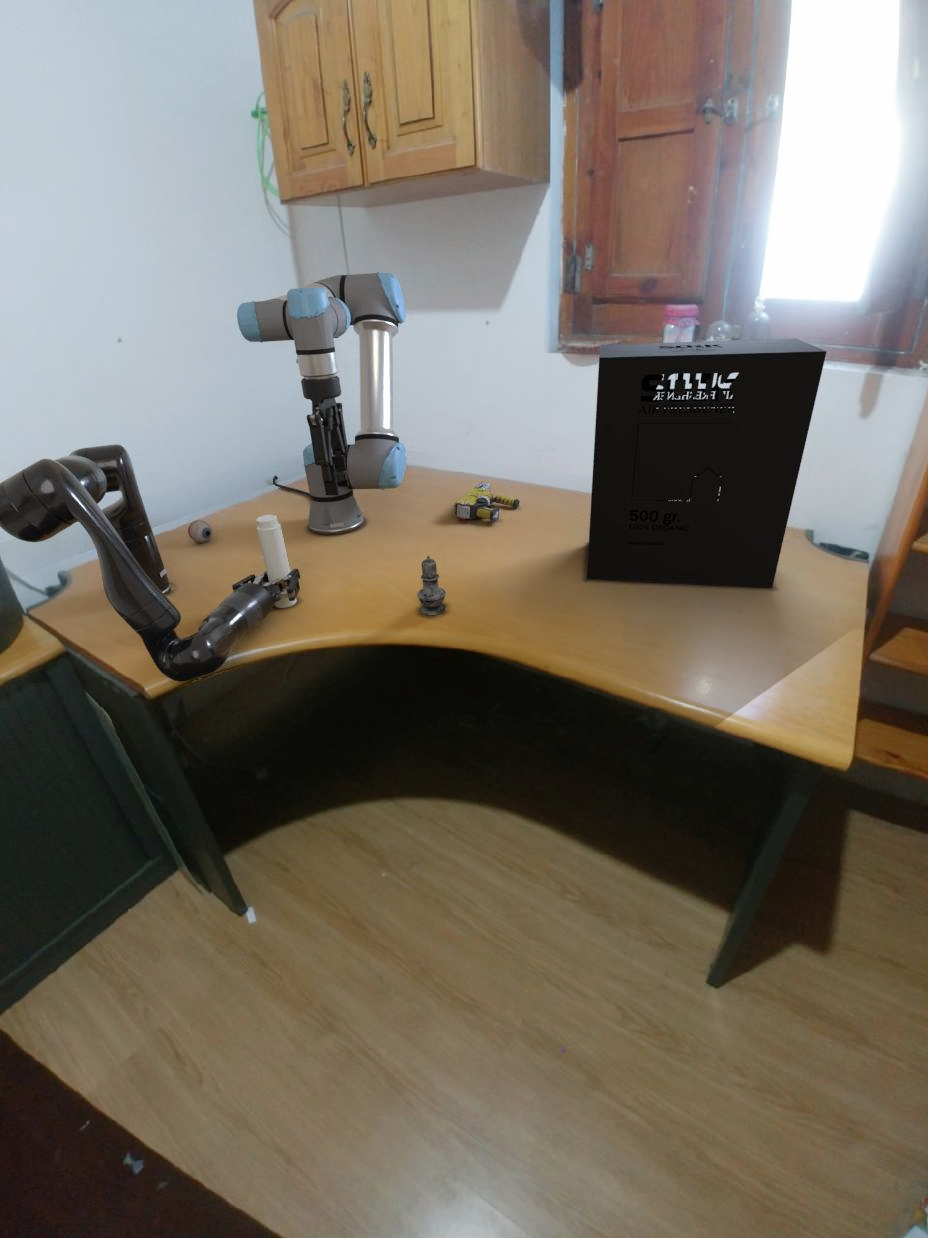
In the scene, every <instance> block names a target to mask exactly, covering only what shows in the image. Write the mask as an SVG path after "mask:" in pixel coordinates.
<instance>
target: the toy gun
mask: <svg viewBox="0 0 928 1238" xmlns="http://www.w3.org/2000/svg"><path fill="white" fill-rule="evenodd" d="M490 489H491V483H490V482H486V483H485V481H481V482H480V483H479V484H478V485H476V486H475V487H473V488H472V489H471V490H469V491H468V492H467V493H465V494H464V496H463V497H461V498H460V499H459V500H457V502H455V503H454V507H453V508H454V509H453V515H454V517H456V518H458V519H459V520H463V521H465V520H474V519H478V518H483V519H487V520H489V521H490V522H489V523H491V524H492V523H494V522H496V521H497V520H499V517H500V507H498V506H497V507H496V506H495V507H494V508H493V506H492V504H494V503H495V504H500V505H504V506H507V507H512V508H515V509H517V508H518V507H520V500H519V499H518V498H512V497H508V496H503V495H502V496H501V495H500V494H497V495H496V496H495V497H494V495H493V494H492V492H491V491H489V490H490Z"/></svg>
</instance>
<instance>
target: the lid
mask: <svg viewBox="0 0 928 1238" xmlns="http://www.w3.org/2000/svg"><path fill="white" fill-rule="evenodd" d="M335 471H336V477H337V482H341V481H344V480H347V479H348V478H349V473H348V469H347V468H346V467H335ZM322 478H323V475H322Z"/></svg>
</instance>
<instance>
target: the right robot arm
mask: <svg viewBox="0 0 928 1238" xmlns="http://www.w3.org/2000/svg"><path fill="white" fill-rule="evenodd" d="M404 301H405V300H404V295H403V290H402V287H401V284H400V282H399V279H398V277H397V276H396V275H395V274H394V273H392V272H379V271H377V272H371V273H357V274H356V273H355V274H338V275H333V276H332V275H331V276H329V277H327V278H323V279H320V280H317V281H315V282H312V283H308V284H306V285H305V286H303V287H302V288H290V289H289V290H288V291H287V292H286V294H284V295H281V296H277V297H274V298H270V299H267V300H258V301H255V300H252V301H247V302H242V303H240V304H239V306H238V308H237V312H236V319H237V325H238V329H239V331H240V333H241V336H242V337H243V338H244V339H245V340H246V341H248V342H250V343H266V342H267V343H268V342H283V341H293V342H294V348H295V354H296V359H295V363H296V364H297V365H298V370H299V371H298V372H299V375H300V376H301V377H303V378H301V380H300V384H301V389H302V395H303V398H304V399H306V400H310V401H311V412H312V413H311V414H306V421H307V425H308V428H309V433H310V441H311V443H309V444H308V445H307V446H305V447H304V448H303V450H302V457H303V459H302V460H303V467H304V471H305V477H306V481H307V486H308V492H307V491H304V490H301V489H297V488H293V487H289V486H285V485H282V484H279V483H277V482H276V481H277V480H278V479H279V478H278V476H277V475H274V476H273V478H272V484H273V485H274V486H275V487H277V488H281V489H284V490H287V491H292V492H296V493H299V494H302V495H305V496H308V497H309V498H310V507H309V513H308V528H309V529H308V530H310V531H311V532H312V533H314V534H317V535H323V536H324V535H325V536H327V535H329V536H331V535H339V534H340V535H341V534H345V533H350V532H353V531H355V530H357V529H359V528H361V527H362V526H363V525H364V523H365V519H364V514H363V512H362V510H361V508H360V505H359V504H358V501H357V500H356V498H355V495H354V490H382V491H383V490H390V489H396V488H398V487H400V485H401V484H402V482H403V480H404V477H405V473H406V466H407V456H406V455H407V451H406V450H407V449H406V446H405V445H404V444H403V443H402V442H400V437H399V435H398V434H397V433H396V432H395V431H394V352H393V351H394V346H393V345H394V341H393V338H395V337H396V335H397V334H399V324H400V325H401V324H403V323H405V322H406V306H405V302H404ZM350 326H353V328H352V329H353V331H354V332H355V333H356V335H358V339H359V341H358V342H359V343H358V344H359V413H360V414H359V415H360V417H359V418H360V430H359V431H358V432H357V433H356V434H355V435H354V443H353V444H348V439H347V434H346V427H345V426H346V425H345V422H344V421H345V420H344V415H343V414H344V412H343V411H344V410H343V403H342V402H337V401H336V398H339V397H340V396H341V395H342V388H341V381H340V377H339V376H338V375H337V374H338V373H339V365H338V359H337V351H336V346H335V339H338V338H340V337H342V336H343V335H344V334H346V332H347V331H348V330H349V328H350ZM335 467H346V468H347V469H348V473H349V478H348V479H347V480H344V481H341V482H337V477H336V471H335ZM322 475H323V478H322Z"/></svg>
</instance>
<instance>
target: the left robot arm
mask: <svg viewBox="0 0 928 1238" xmlns="http://www.w3.org/2000/svg"><path fill="white" fill-rule="evenodd" d="M113 492H115V493H116V492H120V493H121V497H120V498H118V500H116V501H115V502H113V503H112V504H110V505H107V506H106V507H104V508H100V506H99V503H100V502H101V501H102V500H103V499H104V498H105V496H106V493H113ZM76 523H79V524H80V525H81V526H82V527H83V528H84V530H85V531H86V533H87V534H88V536H89V537H90V539H91V541H92V543H93V545H94V547H95V550H96V555H97V557H98V562H99V567H100V574H101V580H102V584H103V590H104V593H105V595H106V598H107V601H108V602H109V604H110V605H111V607H112V608H113V610H114V611H115V612H116V613H117V614H118V616H119V617H120V618H121V619H122V620H123V621H124V622H125V623H126V624H127V625H128V626H129V627H130V628H131V629H132V630H133V631H134V632H135V633H136V634H137V635H138V636H139V637H140V639H141V640H142V643H143V645H144V647H145V649H146V651H147V652H148V654H149V656H150V658H151V660H152V661H153V663H154V665H155V667H156V668H157V670H159V672H160V673H161V674H162V675H164V677H166V678H167V679H170V680H172V681H174V682H177V683H178V682H179V683H183V682H187V681H191V680H194V679H197V678H200V677H203V676H207V675H209V674H211V673H213V672H215V671H217V670H218V669H220V668H221V667H222V666H223V665H224V663H226V661H227V660H228V658H229V656H230V654H231V652H232V651H233V649H234V646H236V645H237V643H238V642H239V641H241V640H242V639H243V638H244V637H245V636H246V635H247V634H249V633H250V632H251V631H253V630H254V629H255V628H256V627H257V626H258V625H259V624H260V623H261V622H262V621H263V620H264V619H265V618H266V617H268V615H269V614H270V613H271V612H272V610H273V608H274V606H275V605H274V603H275V602H277V601H279V600H281V598H289V601H294V600H295V598H296V599H297V597H298V594H299V592H300V589H301V586H300V581H299V580H300V579H301V573H300V570H299V568H293V569H292V570H290V571H291V572H290V573H289V574H288V575H287V576H286V577H284V578H282V579H281V578H277V579H275V580H273V581H271V582H269V579H268V575H267V571H266V570H265V572H263V573H259V574H258V575H257V576H256V575H255V574H250V575H248V576H246V577H244V578H242V579H241V580H238V581H237V582H235V583H233V584H232V585H231V587H232V593H231V594H229V596H227V597H226V598H225V599H224V600H223V601H222V602H220V604H219V605H218V606H217V607H216V608H215V609H214V610H212V612H210V613H209V614H208V615H207V616H206V617H204V619H202V620H201V622H200V624H199V626H198V628H197V629H198V630H197V632H195V633H193V634H191V635H189V636H186V637H182V638H180V636H179V635H178V634H177V632H176V630H175V629H176V628H177V627H178V626H179V625H180V623H181V620H182V615H181V613H180V611H179V609H178V608H177V607H176V606H175V605H174V603H173V602H172V601H171V600H170V599H169V598H168V597H167V596H166V595H167V594H169V592H170V591H171V590H172V585H171V582H170V580H169V577H168V574H167V568H166V567H165V565H164V562H163V559H162V556H161V553H160V550H159V547H158V543H157V540H156V537H155V535H154V532H153V529H152V525H151V523H150V520H149V517H148V513H147V511H146V507H145V505H144V501H143V498H142V495H141V491H140V488H139V485H138V481H137V477H136V474H135V470H134V466H133V462H132V460H131V457H130V454H129V453H128V451H127V449H126V448H125V447H124V446H123V445H121V444H117V443H115V444H114V443H113V444H105V445H98V446H89V447H83V448H78V449H75V450H74V451H72V452H71V453H69V455H67V456H62V457H59V458H57V459H56V458H55V459H52V458H42V459H39V460H37V461H35V462H34V463H32V464H30V465H28V466H27V467H25V468H24V469H22V470H20V471H18V472H16V473H15V474H13V475H12V476H9V477H8V478H7V479H5V480H3V481H1V482H0V528H1V529H2V530H3V531H4V532H6V533H7V534H9V535H10V536H12V537H13V538H15V539H18V540H20V541H24V542H28V543H40V542H44V541H47V540H49V539H51V538H53V537H55V536H56V535H58V534H59V533H61V532H63V531H65V530H66V529H68V528H69V527H71V526H72V525H75V524H76ZM285 582H287V585H286V586H285Z"/></svg>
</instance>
